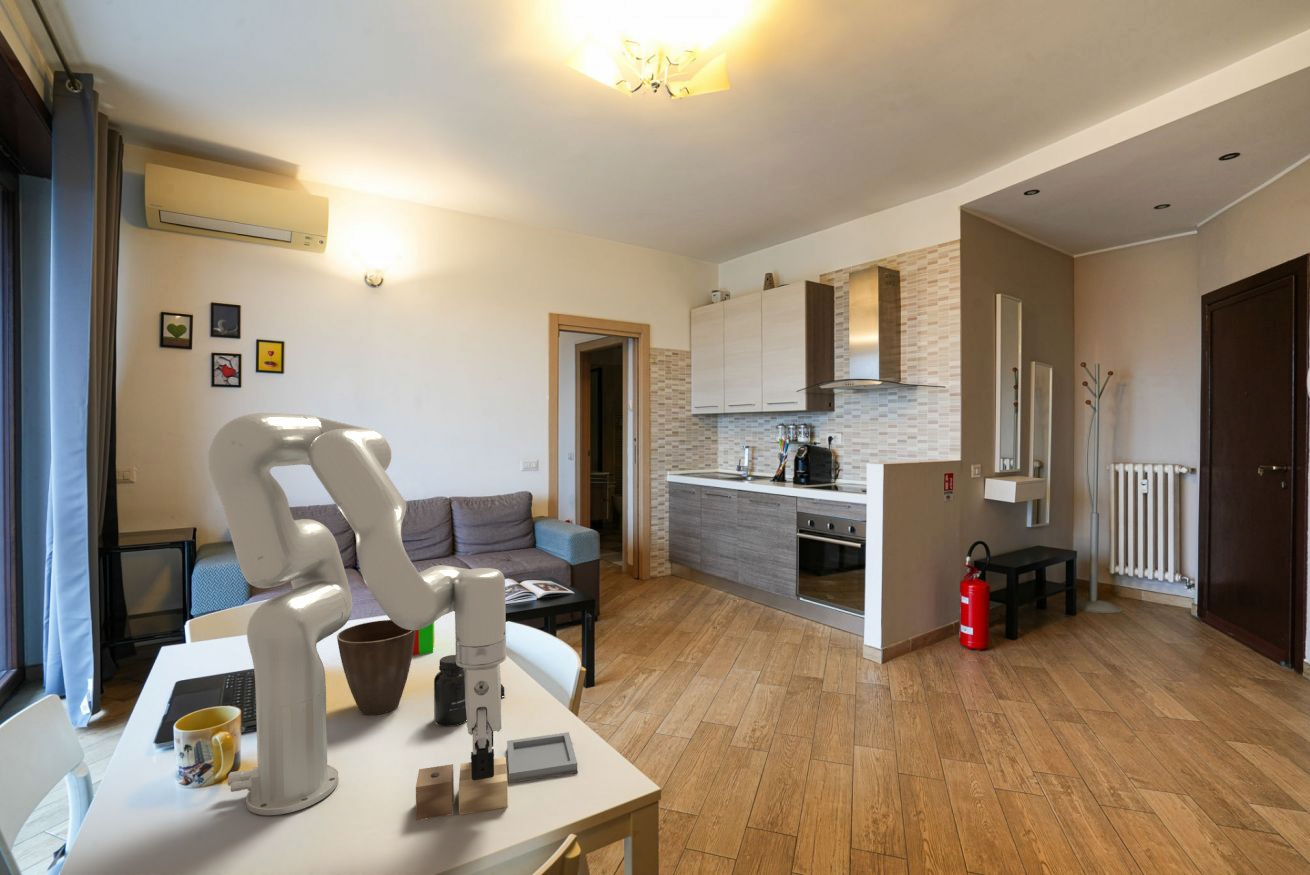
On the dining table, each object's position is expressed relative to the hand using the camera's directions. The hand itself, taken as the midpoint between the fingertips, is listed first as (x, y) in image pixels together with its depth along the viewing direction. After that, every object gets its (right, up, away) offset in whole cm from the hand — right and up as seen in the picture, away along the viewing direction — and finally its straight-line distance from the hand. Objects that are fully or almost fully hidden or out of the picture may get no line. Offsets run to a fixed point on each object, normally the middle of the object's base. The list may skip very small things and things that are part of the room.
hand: (483, 761), depth 96 cm
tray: (+7, -5, +11) cm, 14 cm away
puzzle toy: (-37, -5, +67) cm, 76 cm away
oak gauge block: (0, -6, 0) cm, 6 cm away
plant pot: (-30, -6, +32) cm, 45 cm away
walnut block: (-7, -6, -2) cm, 9 cm away
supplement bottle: (-13, -6, +26) cm, 30 cm away
